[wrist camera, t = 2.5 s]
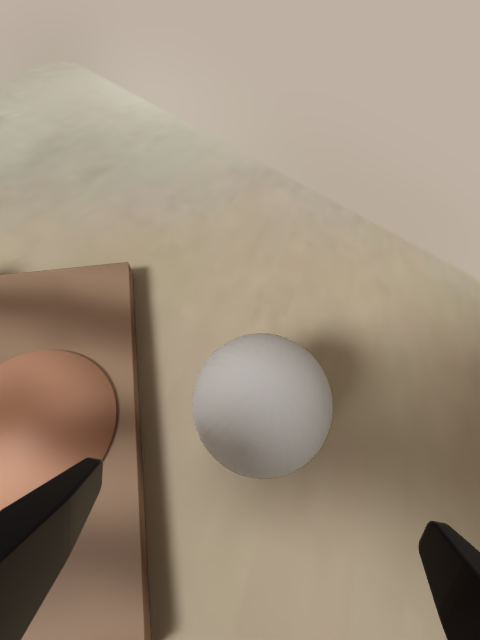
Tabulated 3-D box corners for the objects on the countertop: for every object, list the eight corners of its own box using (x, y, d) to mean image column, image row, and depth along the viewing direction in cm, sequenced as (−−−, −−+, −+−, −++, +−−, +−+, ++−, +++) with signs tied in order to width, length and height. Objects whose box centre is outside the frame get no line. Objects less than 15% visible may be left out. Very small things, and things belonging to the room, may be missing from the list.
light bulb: (262, 503, 17) (316, 521, 8) (179, 444, 18) (150, 407, 10) (305, 413, 20) (380, 357, 11) (230, 367, 21) (244, 283, 12)
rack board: (151, 651, 14) (128, 716, 10) (-191, 760, 12) (-392, 898, 8) (132, 274, 24) (117, 233, 20) (-54, 294, 22) (-112, 252, 18)
